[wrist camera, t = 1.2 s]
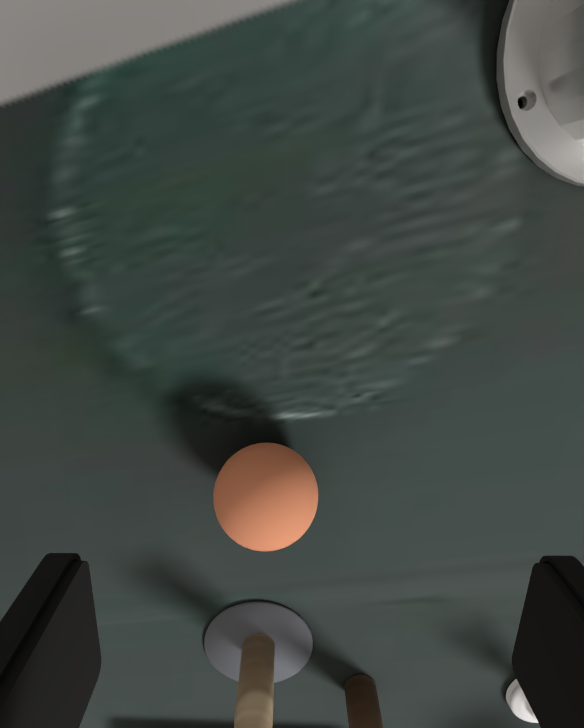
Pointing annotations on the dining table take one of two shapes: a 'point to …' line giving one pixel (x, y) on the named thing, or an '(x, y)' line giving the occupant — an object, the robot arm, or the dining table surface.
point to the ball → (265, 496)
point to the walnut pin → (362, 702)
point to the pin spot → (258, 618)
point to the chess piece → (519, 703)
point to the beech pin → (256, 683)
